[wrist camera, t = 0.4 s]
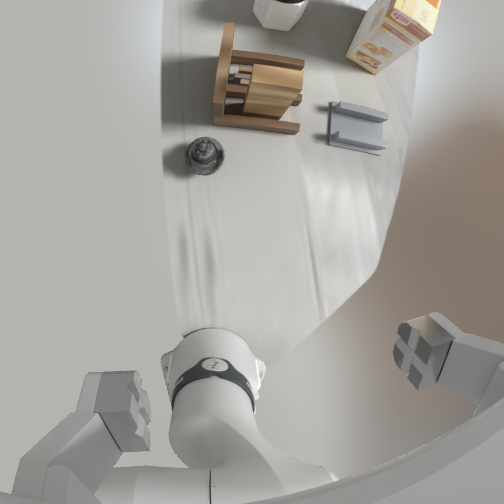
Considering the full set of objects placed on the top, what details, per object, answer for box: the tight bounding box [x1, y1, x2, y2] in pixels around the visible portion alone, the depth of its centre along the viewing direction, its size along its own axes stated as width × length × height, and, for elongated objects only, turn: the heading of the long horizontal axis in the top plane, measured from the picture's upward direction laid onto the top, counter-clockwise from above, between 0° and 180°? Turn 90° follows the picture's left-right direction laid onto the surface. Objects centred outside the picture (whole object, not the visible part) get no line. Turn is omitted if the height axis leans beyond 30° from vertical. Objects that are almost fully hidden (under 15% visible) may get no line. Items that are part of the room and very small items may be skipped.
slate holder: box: [329, 101, 388, 155], centre depth 50 cm, size 8×10×4 cm
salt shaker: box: [185, 137, 225, 175], centre depth 44 cm, size 6×6×12 cm
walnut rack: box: [212, 22, 304, 135], centre depth 43 cm, size 13×13×12 cm
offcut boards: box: [234, 66, 253, 86], centre depth 47 cm, size 3×10×4 cm, turn 84°
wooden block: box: [242, 64, 303, 121], centre depth 41 cm, size 2×6×16 cm, turn 84°
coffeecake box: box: [346, 0, 441, 75], centre depth 39 cm, size 15×7×20 cm, turn 154°
